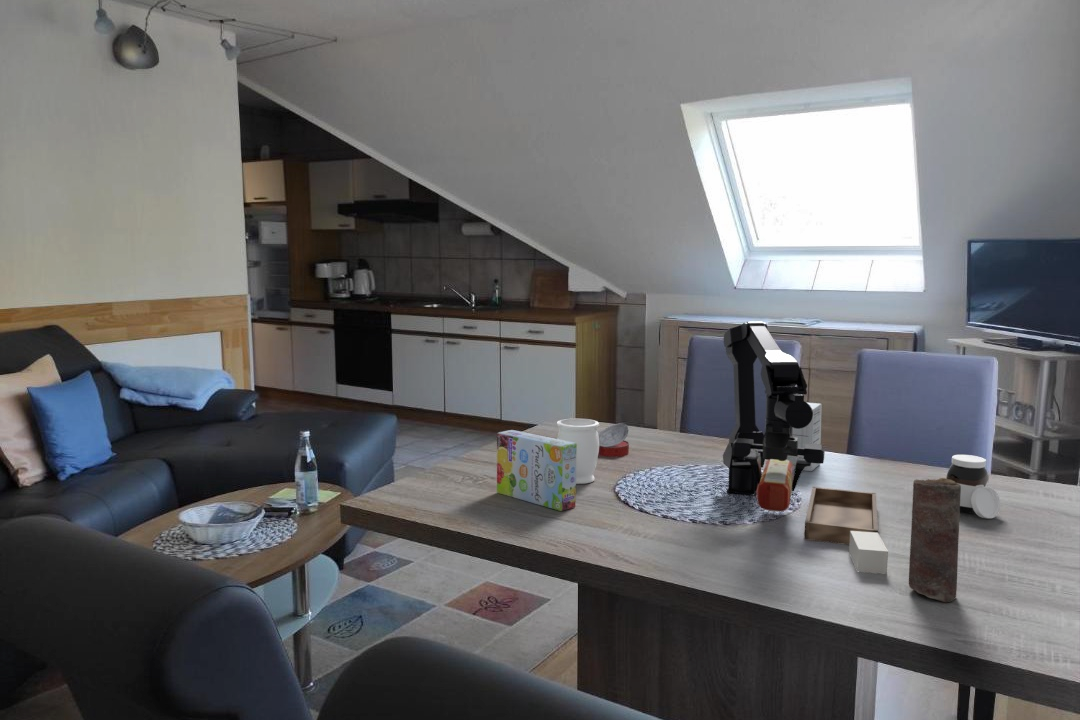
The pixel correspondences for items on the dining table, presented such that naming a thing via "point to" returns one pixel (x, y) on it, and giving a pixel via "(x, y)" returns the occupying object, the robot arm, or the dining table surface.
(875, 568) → the small white box
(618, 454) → the canned food
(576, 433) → the jar
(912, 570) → the weathered brick
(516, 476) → the snack box
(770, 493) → the snack package
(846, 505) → the tray
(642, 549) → the dining table surface
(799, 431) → the supplement box
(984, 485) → the spread jar
